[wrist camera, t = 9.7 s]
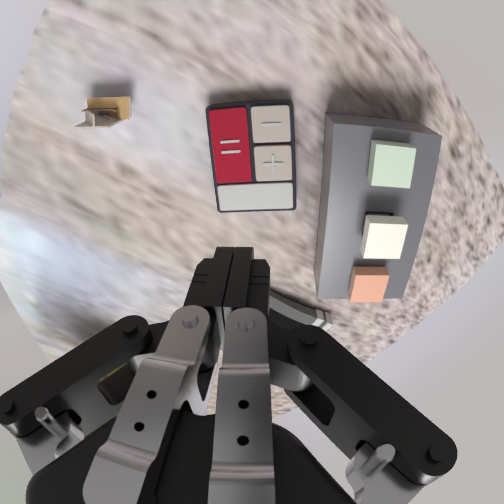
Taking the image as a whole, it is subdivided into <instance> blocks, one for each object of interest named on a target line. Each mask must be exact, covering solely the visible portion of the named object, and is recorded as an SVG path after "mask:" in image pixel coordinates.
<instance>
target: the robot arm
mask: <svg viewBox="0 0 504 504" xmlns="http://www.w3.org/2000/svg"><path fill="white" fill-rule="evenodd" d="M269 303H270V266H269V265H268V263H267V261H266V260H265V259H254V250H253V247H217V248H216V251H215V254H214V258H204V259H203V260H202V261H201V262H200V263H199V264H198V265H197V267H196V270H195V273H194V276H193V278H192V283H191V284H190V287H189V290H188V293H187V296H186V299H185V302H184V305H183V307H182V308H179V309H178V310H176V311H175V312H174V313H173V315H172V316H171V318H170V320H169V321H166V322H162V323H156V324H151V325H148V322H147V321H146V319H144V318H143V317H141V316H137V315H131V316H127V317H124V318H122V319H120V320H119V321H117V322H115V323H114V324H112V325H111V326H109V327H107V328H106V329H104V330H103V331H101V332H99V333H98V334H96V335H95V336H93V337H92V338H90V339H88V340H87V341H85V342H84V343H82V344H80V345H79V346H77V347H76V348H74V349H73V350H71V351H69V352H68V353H66V354H65V355H63V356H62V357H60V358H58V359H57V360H55V361H54V362H52V363H51V364H49V365H47V366H46V367H45V368H43V369H41V370H40V371H38V372H37V373H35V374H33V375H32V376H31V377H29V378H27V379H26V380H24V381H23V382H21V383H20V384H18V385H16V386H15V387H14V388H12V389H10V390H9V391H7V392H6V393H4V394H3V395H1V396H0V424H2V425H3V426H4V427H5V428H6V429H7V430H9V431H10V433H11V434H12V435H13V436H14V437H15V438H16V439H17V442H18V444H19V446H20V448H21V451H22V453H23V455H24V458H25V460H26V462H27V464H28V466H29V468H30V470H31V472H32V474H33V477H32V478H31V480H30V481H29V484H28V486H27V490H26V504H408V503H409V502H410V501H411V500H412V499H413V497H414V496H415V495H416V494H417V493H418V492H419V491H420V490H421V489H422V488H423V487H425V486H427V485H428V484H430V483H431V482H433V481H435V480H436V479H438V478H439V477H441V476H442V475H444V474H446V473H447V472H448V471H450V470H451V469H452V467H453V466H454V464H455V462H456V460H457V448H456V445H455V443H454V441H453V440H452V439H451V438H450V437H449V436H448V435H447V434H445V433H444V432H443V431H442V430H441V429H439V428H438V427H437V426H436V425H435V424H434V423H432V422H431V421H430V420H429V419H428V418H426V417H425V416H424V415H423V414H422V413H420V412H419V411H418V410H417V409H416V408H415V407H413V406H412V405H411V404H410V403H409V402H408V401H406V400H405V399H404V398H403V397H402V396H400V395H399V394H398V393H397V392H396V391H394V390H393V389H392V388H391V387H390V386H389V385H387V384H386V383H385V382H384V381H383V380H382V379H380V378H379V377H378V376H377V375H376V374H375V373H373V372H372V371H371V370H370V369H369V368H368V367H366V366H365V365H364V364H363V363H362V362H361V361H359V360H358V359H357V358H356V357H355V356H354V355H352V354H351V353H350V352H349V351H348V350H347V349H345V348H344V347H343V346H342V345H341V344H340V343H339V342H337V341H336V340H335V339H334V338H333V337H332V336H330V335H329V334H328V333H327V332H326V331H325V330H323V329H322V328H320V327H318V326H314V325H301V326H298V327H296V328H294V329H293V330H292V331H291V330H287V329H284V328H281V327H279V326H277V325H276V324H274V323H273V322H272V321H271V319H270V318H269ZM219 350H223V360H222V368H220V369H219V374H218V387H217V400H216V414H212V415H207V405H208V401H209V398H210V394H211V390H212V387H213V383H214V379H215V376H216V372H217V368H218V361H217V360H218V356H219ZM125 362H126V365H125V366H123V367H122V368H120V369H119V370H117V371H116V372H114V373H113V374H111V375H110V376H108V377H107V378H105V379H104V380H102V381H101V382H99V381H100V380H101V379H102V378H103V377H105V376H106V375H108V374H109V373H111V372H112V371H114V370H115V369H117V368H118V367H119V366H121V365H122V364H124V363H125ZM270 384H273V385H276V386H279V387H282V388H284V391H285V393H286V394H287V395H288V396H289V397H290V398H291V399H292V400H293V402H294V403H295V404H296V405H297V406H298V407H299V408H300V409H301V410H302V411H303V412H304V413H305V414H306V415H307V416H308V417H309V418H310V420H311V421H312V422H313V423H314V424H315V425H316V426H317V427H318V428H319V429H320V430H321V431H322V432H323V433H324V434H325V435H326V436H327V437H328V438H329V439H330V440H331V441H332V442H333V443H334V444H335V445H336V446H337V447H338V448H339V449H340V450H341V451H342V452H343V453H344V454H345V455H346V456H347V457H348V458H349V459H350V462H349V463H348V465H347V467H346V478H347V480H348V482H349V484H350V485H351V486H352V488H353V490H354V494H355V498H354V500H353V499H352V498H351V497H350V496H349V495H348V494H347V493H346V492H345V491H344V489H343V488H342V487H341V486H340V485H339V484H338V483H337V482H336V481H335V480H334V478H333V477H332V476H331V475H330V474H329V473H328V472H327V471H326V470H325V468H323V466H322V465H321V464H320V463H319V462H318V461H317V459H316V458H315V457H314V456H313V455H312V454H311V453H310V451H309V450H308V449H307V448H306V447H305V446H304V444H303V443H302V442H301V441H300V440H299V439H298V438H297V437H296V436H295V435H293V434H292V433H291V432H290V431H288V430H286V429H285V428H283V427H281V426H279V425H276V424H274V423H272V413H271V389H270ZM117 414H118V415H117ZM116 415H117V416H116ZM114 416H115V417H114ZM107 421H108V422H107ZM104 423H105V424H104ZM103 424H104V425H103ZM101 425H102V426H101ZM100 426H101V427H100ZM98 427H100V428H98ZM97 428H98V429H97ZM95 429H97V430H96V431H94V430H95ZM93 431H94V432H93ZM91 432H93V433H91ZM90 433H91V434H90ZM88 434H90V435H89V436H87V435H88ZM85 436H87V437H86V438H85V439H84V437H85Z"/></svg>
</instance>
